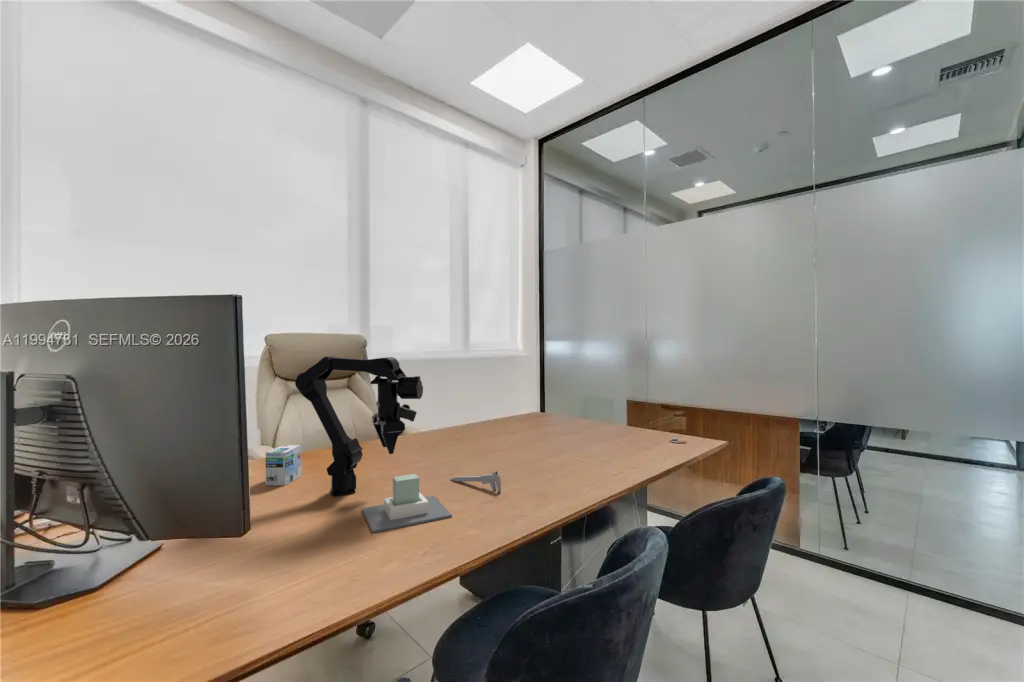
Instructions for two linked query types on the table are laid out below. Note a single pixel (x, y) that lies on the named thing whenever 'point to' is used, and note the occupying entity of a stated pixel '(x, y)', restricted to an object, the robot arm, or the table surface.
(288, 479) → the light bulb box
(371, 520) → the socket tray
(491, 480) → the caliper
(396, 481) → the key block
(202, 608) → the table surface
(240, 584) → the table surface
